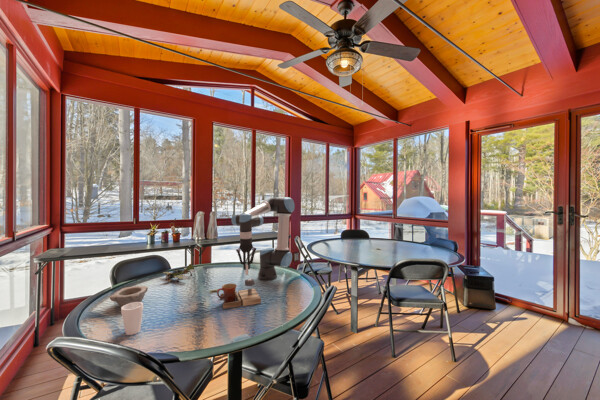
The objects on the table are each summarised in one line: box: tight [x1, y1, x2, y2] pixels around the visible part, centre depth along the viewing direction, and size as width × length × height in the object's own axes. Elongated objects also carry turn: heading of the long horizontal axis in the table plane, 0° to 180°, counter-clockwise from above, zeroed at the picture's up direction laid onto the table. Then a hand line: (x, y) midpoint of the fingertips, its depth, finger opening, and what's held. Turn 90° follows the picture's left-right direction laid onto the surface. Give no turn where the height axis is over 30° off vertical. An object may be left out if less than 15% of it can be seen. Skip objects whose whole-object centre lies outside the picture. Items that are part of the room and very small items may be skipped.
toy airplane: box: [162, 263, 197, 283], centre depth 215 cm, size 31×25×10 cm
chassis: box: [219, 288, 262, 310], centre depth 170 cm, size 18×22×6 cm
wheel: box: [244, 278, 255, 287], centre depth 173 cm, size 6×6×3 cm
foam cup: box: [120, 301, 144, 336], centre depth 134 cm, size 10×9×13 cm
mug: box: [216, 283, 237, 303], centre depth 168 cm, size 12×9×10 cm
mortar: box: [109, 285, 149, 308], centre depth 165 cm, size 17×17×9 cm
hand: (246, 274), depth 172 cm, fingers closed
